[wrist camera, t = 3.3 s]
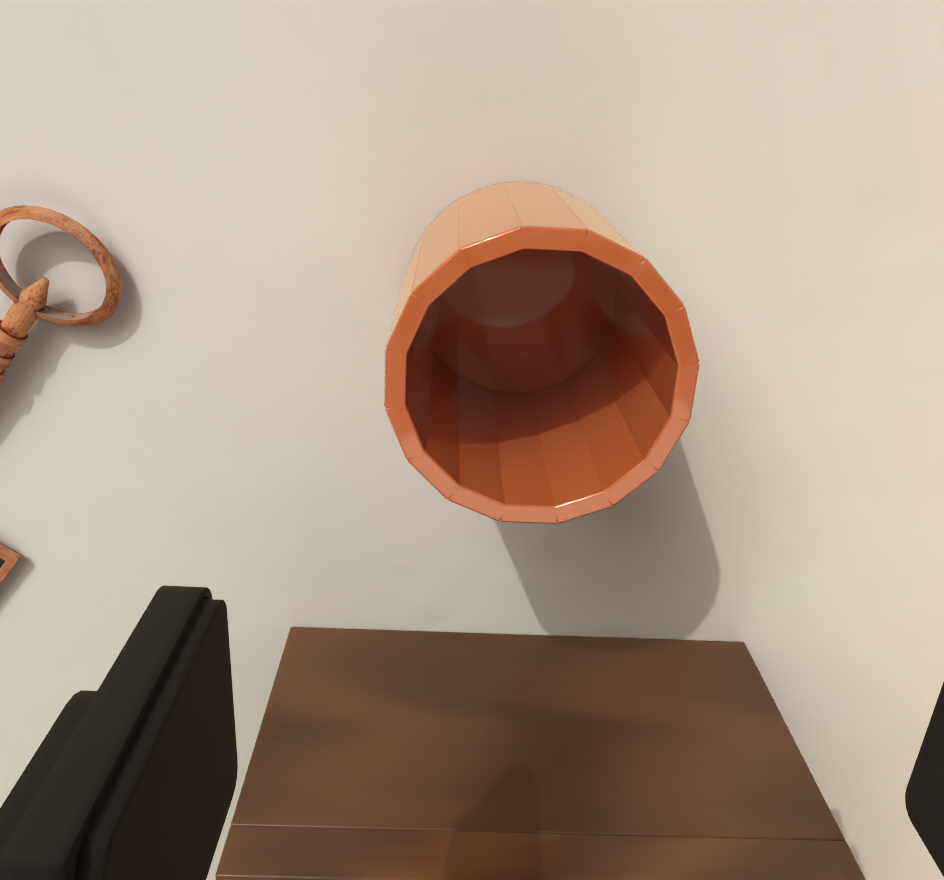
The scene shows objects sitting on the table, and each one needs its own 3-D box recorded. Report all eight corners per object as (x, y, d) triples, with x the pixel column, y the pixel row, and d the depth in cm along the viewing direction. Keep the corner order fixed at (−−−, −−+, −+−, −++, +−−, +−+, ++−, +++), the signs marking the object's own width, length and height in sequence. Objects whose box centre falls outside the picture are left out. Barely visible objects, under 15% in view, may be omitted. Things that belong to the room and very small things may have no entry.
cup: (403, 394, 26) (382, 518, 19) (408, 175, 24) (386, 218, 16) (612, 403, 26) (673, 529, 19) (639, 187, 24) (721, 235, 16)
